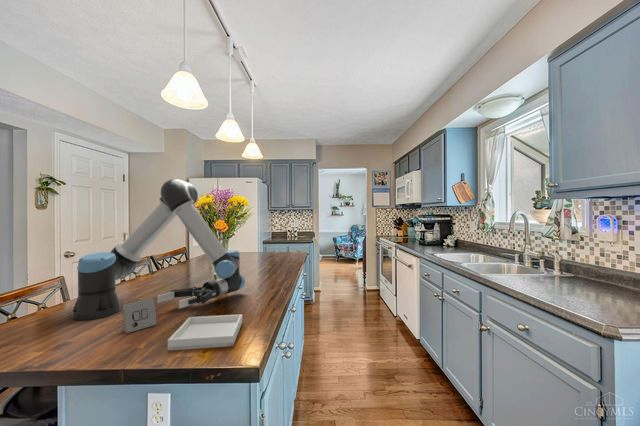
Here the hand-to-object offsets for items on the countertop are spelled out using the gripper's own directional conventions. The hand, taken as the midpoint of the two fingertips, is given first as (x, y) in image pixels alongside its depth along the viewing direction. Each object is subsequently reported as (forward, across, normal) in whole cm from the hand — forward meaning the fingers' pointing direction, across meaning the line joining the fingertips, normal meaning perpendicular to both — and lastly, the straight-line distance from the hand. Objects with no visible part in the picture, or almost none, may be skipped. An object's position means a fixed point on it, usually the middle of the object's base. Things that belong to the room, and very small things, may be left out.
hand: (168, 301), depth 105 cm
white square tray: (+3, -27, -6) cm, 28 cm away
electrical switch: (+10, 0, -6) cm, 12 cm away
